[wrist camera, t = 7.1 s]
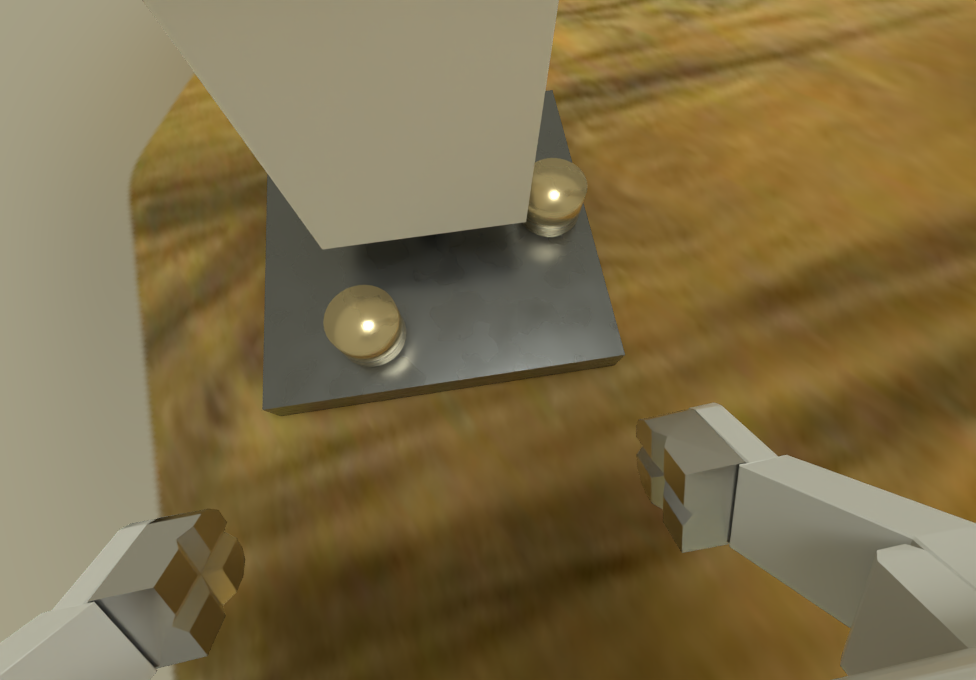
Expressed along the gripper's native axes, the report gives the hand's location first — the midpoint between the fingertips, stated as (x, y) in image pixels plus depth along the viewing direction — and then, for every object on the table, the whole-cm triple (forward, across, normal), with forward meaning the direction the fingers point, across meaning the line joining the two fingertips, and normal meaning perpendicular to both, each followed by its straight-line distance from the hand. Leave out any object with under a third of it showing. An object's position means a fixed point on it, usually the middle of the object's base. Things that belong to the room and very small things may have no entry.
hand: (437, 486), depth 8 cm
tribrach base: (+21, 0, 0) cm, 21 cm away
